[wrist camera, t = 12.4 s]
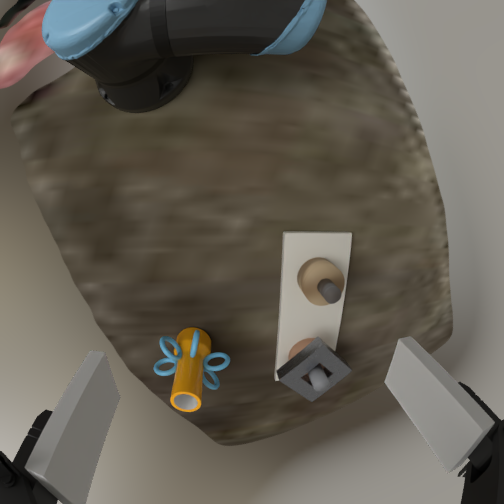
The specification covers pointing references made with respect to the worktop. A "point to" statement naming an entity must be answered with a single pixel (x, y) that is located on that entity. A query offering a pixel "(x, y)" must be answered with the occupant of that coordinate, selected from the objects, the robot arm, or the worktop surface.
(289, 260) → the board
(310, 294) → the stand
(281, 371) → the square frame with hole
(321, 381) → the peg
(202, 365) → the tube with blue rings
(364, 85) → the worktop surface
